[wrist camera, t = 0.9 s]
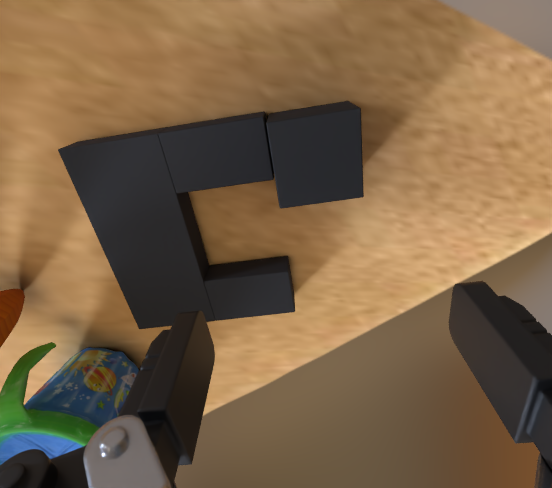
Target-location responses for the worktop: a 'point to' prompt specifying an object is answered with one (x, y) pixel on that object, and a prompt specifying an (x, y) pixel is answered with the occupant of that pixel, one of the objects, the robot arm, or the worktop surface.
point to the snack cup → (63, 401)
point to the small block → (317, 154)
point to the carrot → (9, 311)
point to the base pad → (177, 217)
